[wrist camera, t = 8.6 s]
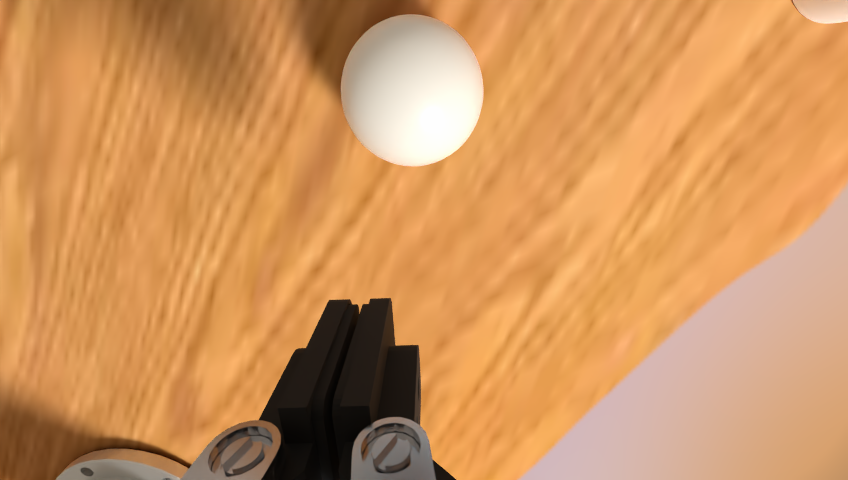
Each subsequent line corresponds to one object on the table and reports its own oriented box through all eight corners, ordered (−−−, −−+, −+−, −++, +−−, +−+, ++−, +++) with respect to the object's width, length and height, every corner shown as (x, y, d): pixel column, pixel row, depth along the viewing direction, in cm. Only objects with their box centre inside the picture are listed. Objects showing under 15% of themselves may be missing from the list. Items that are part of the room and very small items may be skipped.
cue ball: (424, -9, 11) (422, -33, 15) (294, 112, 13) (324, 62, 17) (523, 135, 14) (498, 81, 18) (402, 216, 16) (406, 151, 20)
